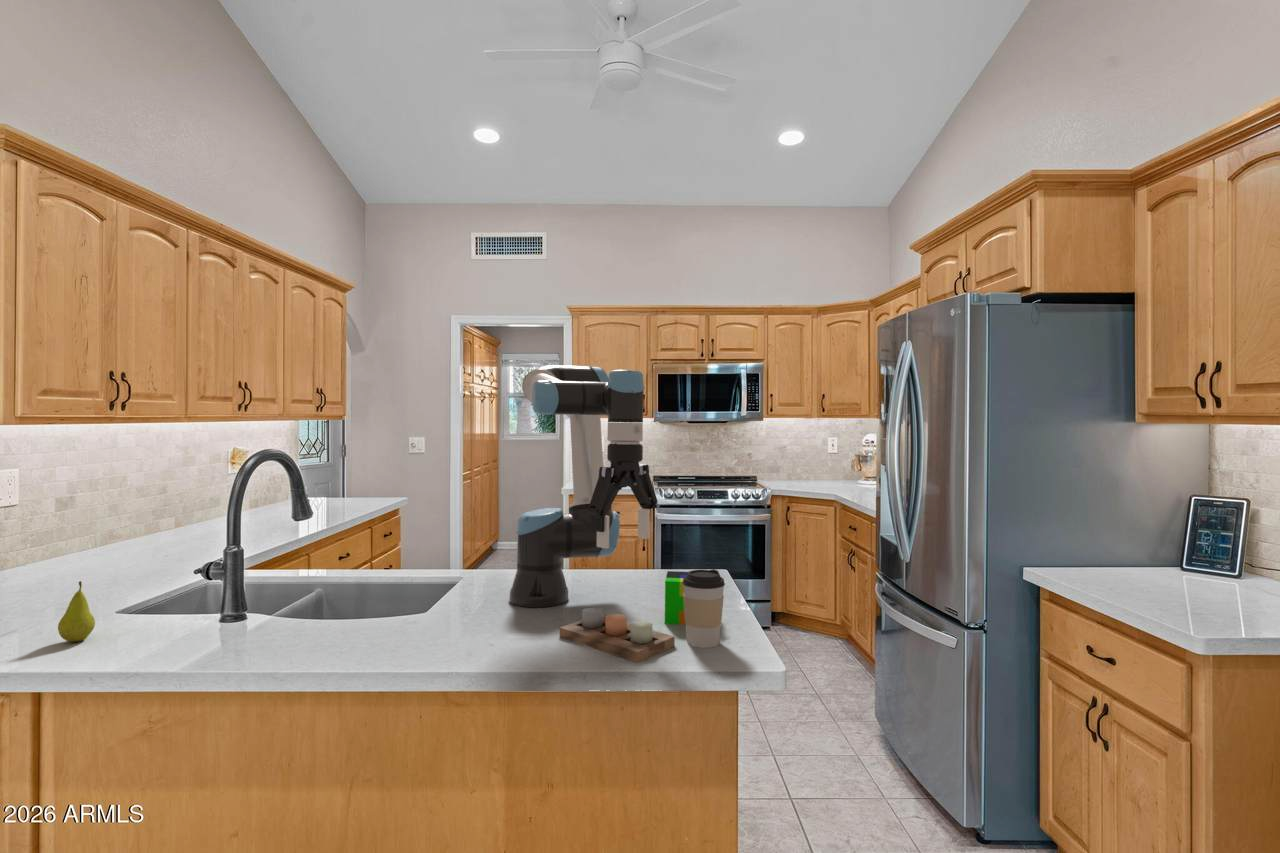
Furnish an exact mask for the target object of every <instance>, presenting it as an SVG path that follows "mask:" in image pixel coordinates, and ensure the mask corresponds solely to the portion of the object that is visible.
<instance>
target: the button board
mask: <svg viewBox="0 0 1280 853" xmlns="http://www.w3.org/2000/svg"><path fill="white" fill-rule="evenodd" d="M605 624H606V616H604V615H603V626H602V627H601V628H598V629H594V630H590V629H587V628H583V627H582V619H580V620H579V621H575V622H572V623H569V624H567V625H563V626H561V627H559V638H562V639H565V640H568V641H572V642H575V643H577V644H580V645H583V646H586V647H589V648H593V649H596V650H599V651H601V652H605V653H608V654H611V655H614V656H617V657H620V658H623V659H626V660H629V661H632V662H633V663H634V662H635V663H639V662H641V661H644V660H647V659H648V658H651V657H653V656H655V655H658V654H661V653H662V652H665V651H666V650H669V649H671V648H674V647H675V646H676V644H675V636H674V635H671V634H668V633H664V632H660V631H656V630H652V642H651V643H649V644H646V645H639V644H636V643H632V642H631V641H630V634H631V623H628V622H627V634H626V635H623V636H620V637H613V636H609V635H606V634H605Z"/></svg>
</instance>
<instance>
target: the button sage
mask: <svg viewBox="0 0 1280 853" xmlns="http://www.w3.org/2000/svg"><path fill="white" fill-rule="evenodd" d="M630 624H631V634H630V641H631V642H632V643H636V644H639V645H642V646H644V645H646V644H649V643H651V642H652V630H653V628H654V627H653V623H652V622H651V621H646V620H636V621H633V622H631V623H630Z"/></svg>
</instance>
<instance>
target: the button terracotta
mask: <svg viewBox="0 0 1280 853" xmlns="http://www.w3.org/2000/svg"><path fill="white" fill-rule="evenodd" d="M605 617H606V624H605V634H606V635H609V636H613V637H616V638H618V637H620V636H623V635H626V634H627V623H628V621H627V620H628V618H627V615H624V614H621V613H613V614H608V615H606V616H605Z"/></svg>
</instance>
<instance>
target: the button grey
mask: <svg viewBox="0 0 1280 853" xmlns="http://www.w3.org/2000/svg"><path fill="white" fill-rule="evenodd" d="M603 612H604V610H603V609H602V608H599V607H586V608H584V609H582V610H581V620H582V627H583V628H587V629H590V630H595V629H598V628H601V627H602V626H603V616H604V613H603Z"/></svg>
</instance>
